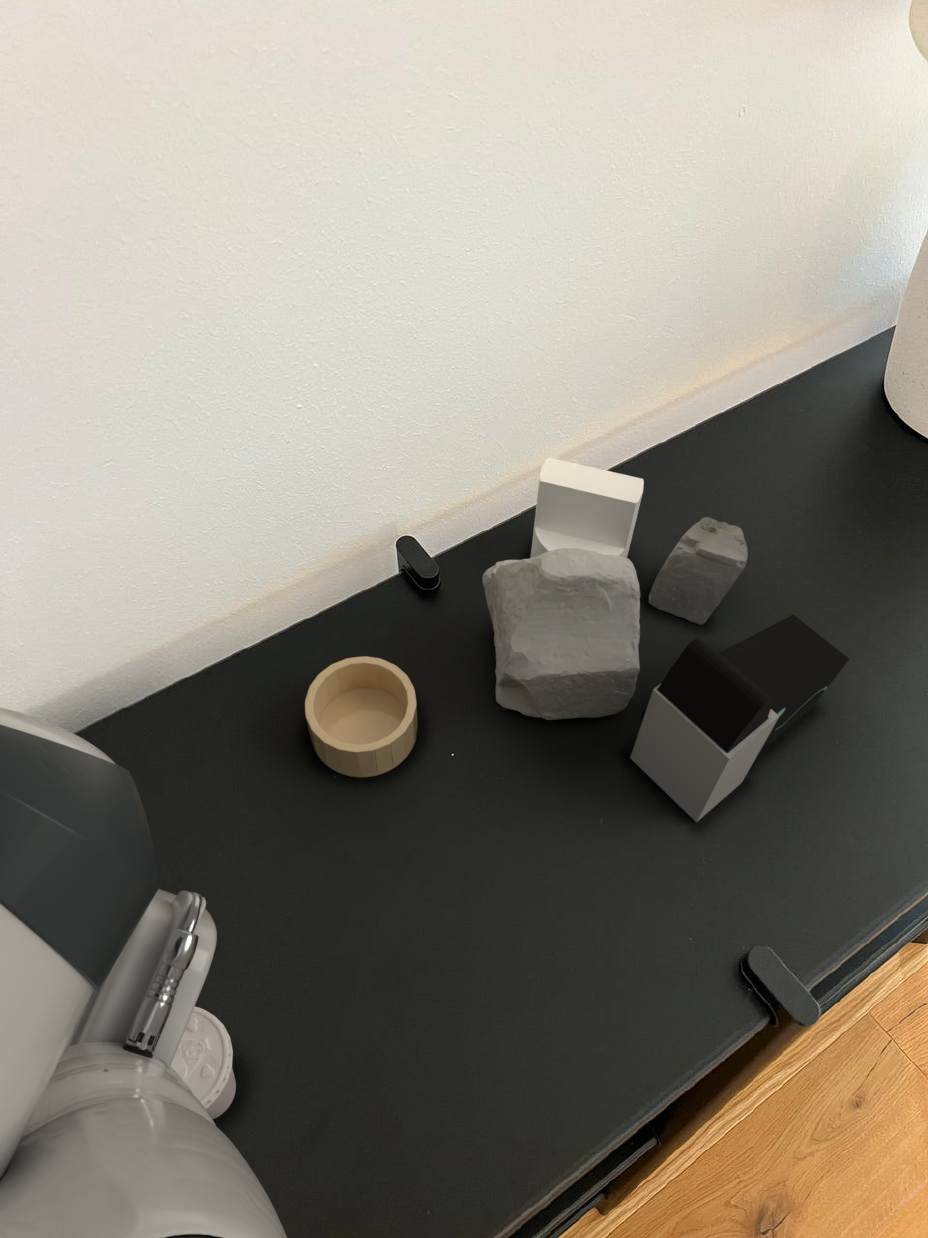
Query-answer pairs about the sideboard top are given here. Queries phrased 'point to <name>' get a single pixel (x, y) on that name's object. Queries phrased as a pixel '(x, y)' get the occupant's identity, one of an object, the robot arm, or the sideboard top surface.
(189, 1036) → the smoothie
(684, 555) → the mineral specimen
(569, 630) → the stone
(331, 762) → the tan hollow round container
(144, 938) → the robot arm
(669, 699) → the decorative object
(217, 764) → the sideboard top surface
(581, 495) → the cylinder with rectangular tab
